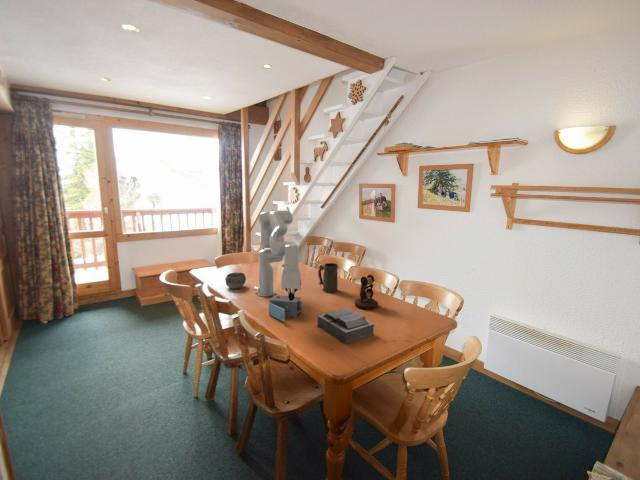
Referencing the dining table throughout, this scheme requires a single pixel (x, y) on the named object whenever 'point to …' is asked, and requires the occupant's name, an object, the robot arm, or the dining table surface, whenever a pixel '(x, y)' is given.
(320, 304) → the dining table surface
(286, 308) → the camera body
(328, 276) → the beer stein
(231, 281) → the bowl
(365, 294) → the brown figurine
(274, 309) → the side door
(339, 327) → the grey stacked slabs
